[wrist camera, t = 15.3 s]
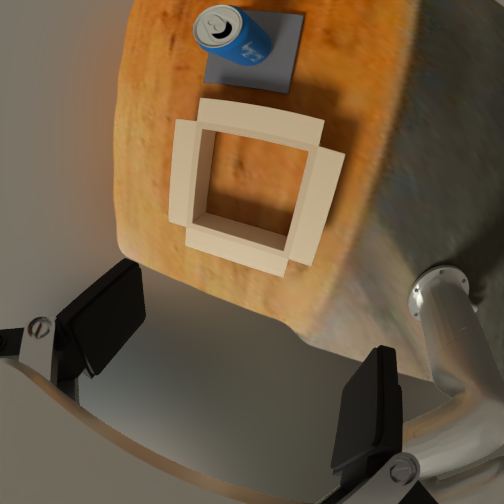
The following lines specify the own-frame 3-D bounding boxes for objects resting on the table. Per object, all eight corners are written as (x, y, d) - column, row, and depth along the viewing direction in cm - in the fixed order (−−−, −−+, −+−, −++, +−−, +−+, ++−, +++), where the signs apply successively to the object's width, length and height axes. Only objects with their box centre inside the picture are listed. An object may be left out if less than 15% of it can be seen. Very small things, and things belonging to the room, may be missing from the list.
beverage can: (247, 75, 33) (211, 62, 23) (221, 47, 32) (179, 29, 22) (282, 49, 30) (258, 24, 20) (254, 21, 28) (221, -8, 18)
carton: (350, 127, 34) (351, 128, 29) (308, 267, 46) (304, 284, 42) (195, 96, 38) (179, 96, 33) (182, 228, 50) (167, 239, 46)
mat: (304, 17, 27) (303, 15, 26) (288, 94, 34) (287, 93, 33) (220, 12, 29) (217, 10, 28) (206, 82, 36) (203, 82, 35)
